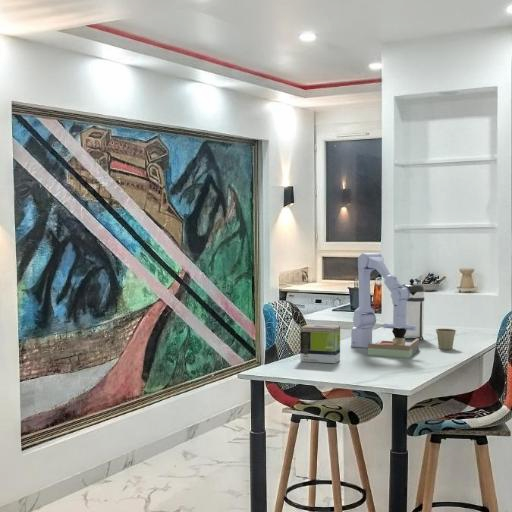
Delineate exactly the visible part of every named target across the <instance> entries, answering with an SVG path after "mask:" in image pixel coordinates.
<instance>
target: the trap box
mask: <svg viewBox="0 0 512 512" xmlns="http://www.w3.org/2000/svg"><path fill="white" fill-rule="evenodd" d="M419 349H420V340H419V338H415V339H414V340H413V341H409V342H407V341H405V346H404V345H393V340H379V341H377V342H375V343H373V342H372V343H368V348H367V355H368V356H377V357H378V356H380V357H391V358H393V357H394V358H395V357H396V358H407V359H409V358H411V357H412V356H413V355H414V354H416V352H418V351H419Z"/></svg>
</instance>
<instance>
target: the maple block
mask: <svg viewBox="0 0 512 512" xmlns="http://www.w3.org/2000/svg"><path fill="white" fill-rule="evenodd" d="M392 341H393V345H404V346H405V342H406V337H405V338H395V337H393V338H392Z"/></svg>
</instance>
